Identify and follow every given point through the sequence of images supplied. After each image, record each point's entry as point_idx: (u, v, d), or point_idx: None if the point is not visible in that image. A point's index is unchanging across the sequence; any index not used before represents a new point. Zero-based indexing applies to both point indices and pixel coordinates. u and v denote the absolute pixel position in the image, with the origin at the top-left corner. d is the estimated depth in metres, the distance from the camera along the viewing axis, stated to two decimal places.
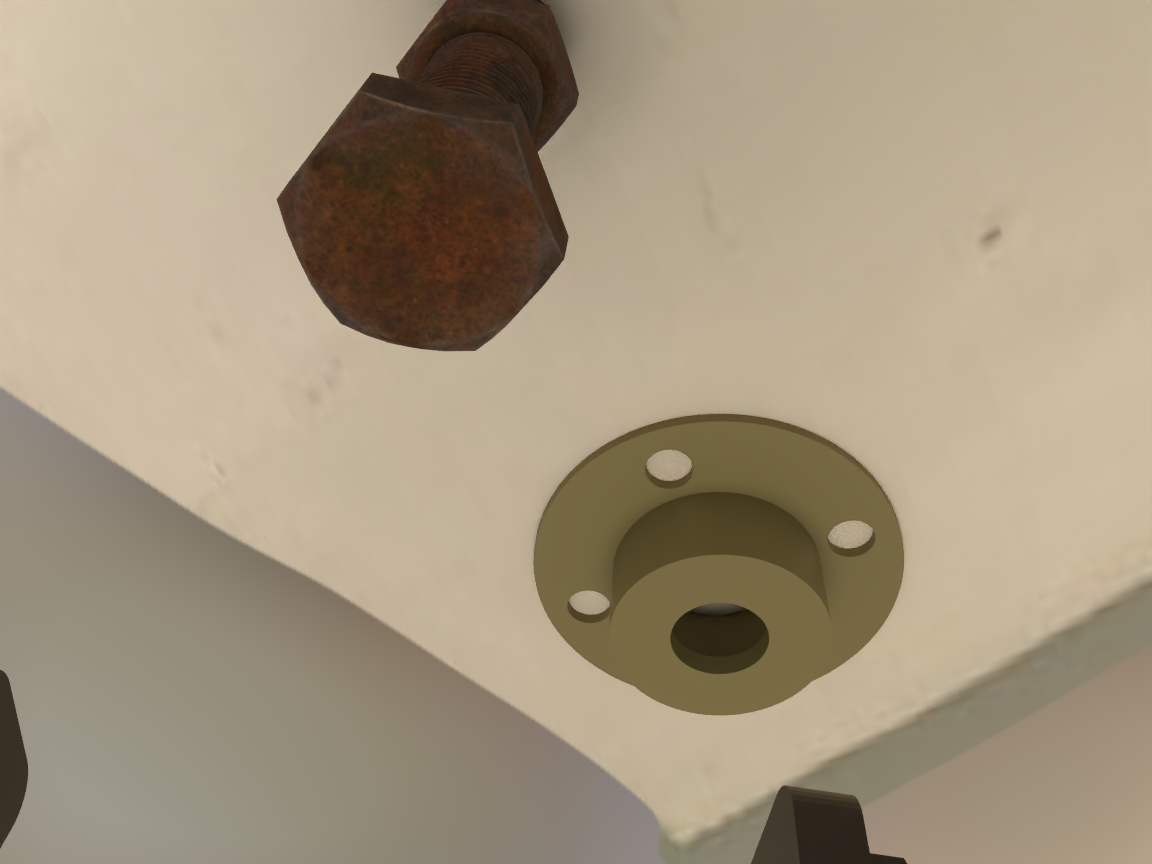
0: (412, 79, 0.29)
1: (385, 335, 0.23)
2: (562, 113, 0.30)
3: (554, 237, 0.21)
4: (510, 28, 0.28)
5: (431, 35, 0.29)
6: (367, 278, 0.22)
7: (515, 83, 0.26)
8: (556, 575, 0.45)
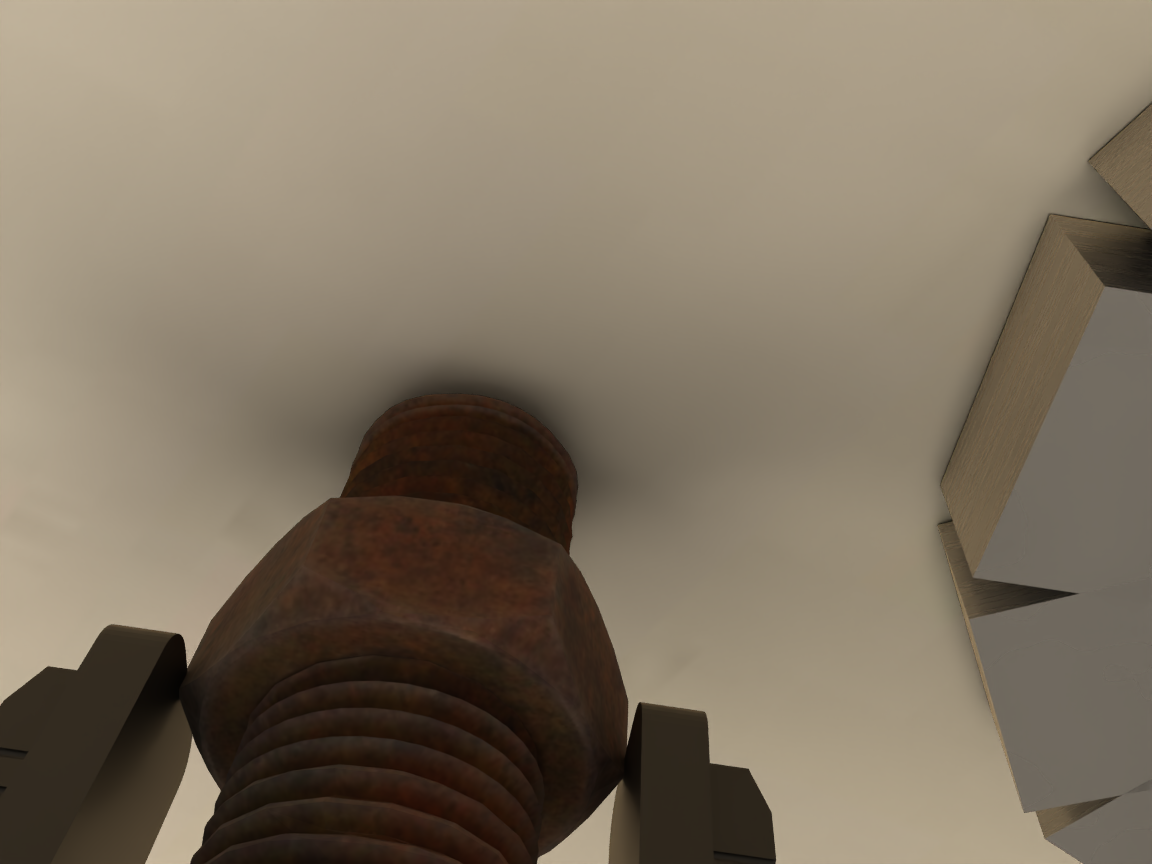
0: (307, 636, 0.11)
1: None
2: None
3: None
4: (565, 762, 0.11)
5: (439, 637, 0.11)
6: None
7: None
8: None
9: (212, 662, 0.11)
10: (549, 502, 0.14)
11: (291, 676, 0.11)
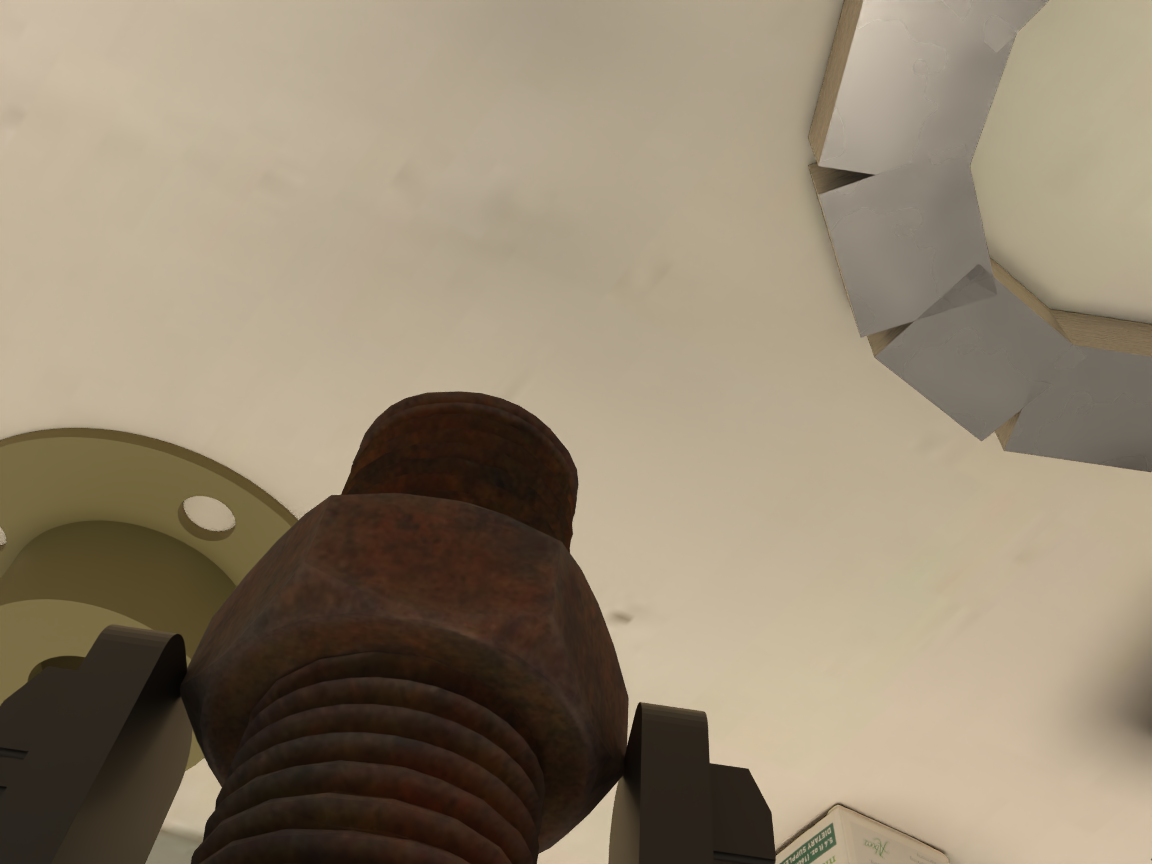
0: (308, 632, 0.11)
1: None
2: None
3: None
4: (565, 758, 0.11)
5: (440, 633, 0.11)
6: None
7: None
8: None
9: (213, 658, 0.11)
10: (550, 498, 0.14)
11: (292, 672, 0.11)
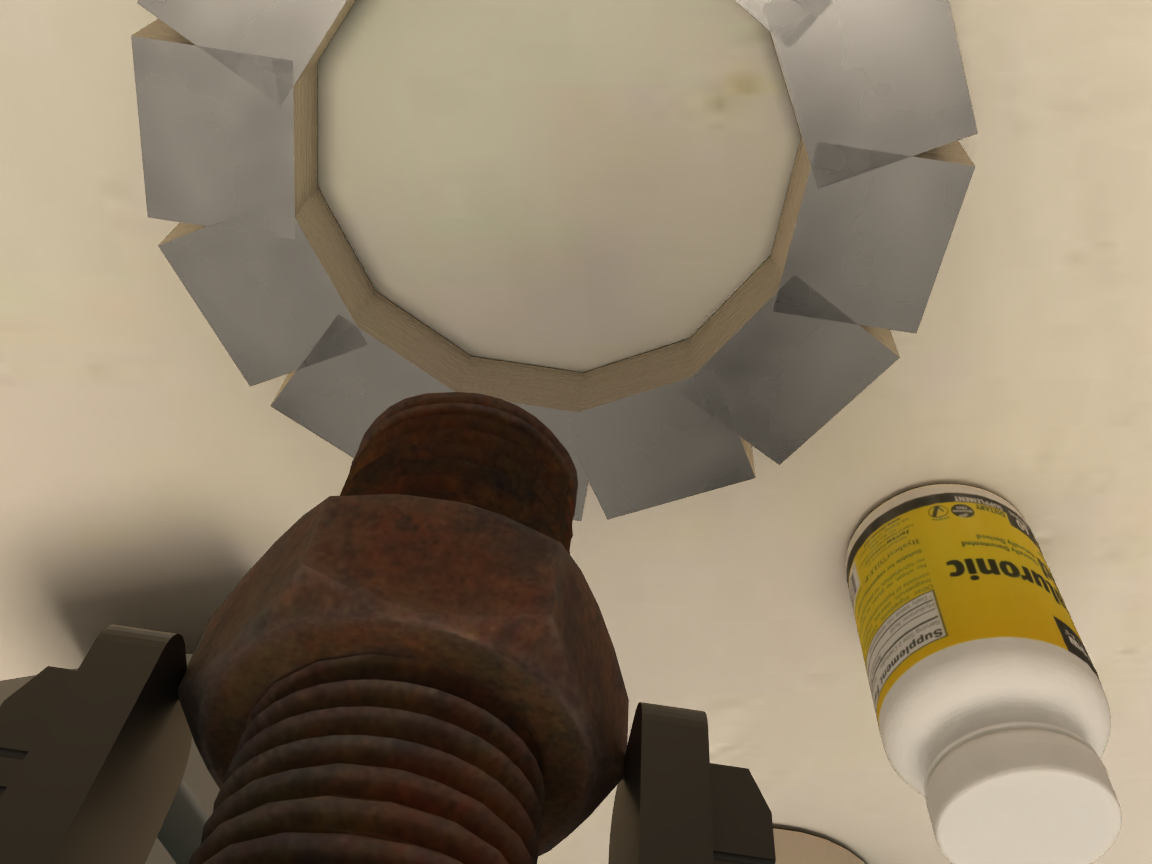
0: (306, 634, 0.11)
1: None
2: None
3: None
4: (565, 761, 0.11)
5: (438, 637, 0.10)
6: None
7: None
8: None
9: (211, 660, 0.11)
10: (549, 500, 0.14)
11: (290, 674, 0.11)
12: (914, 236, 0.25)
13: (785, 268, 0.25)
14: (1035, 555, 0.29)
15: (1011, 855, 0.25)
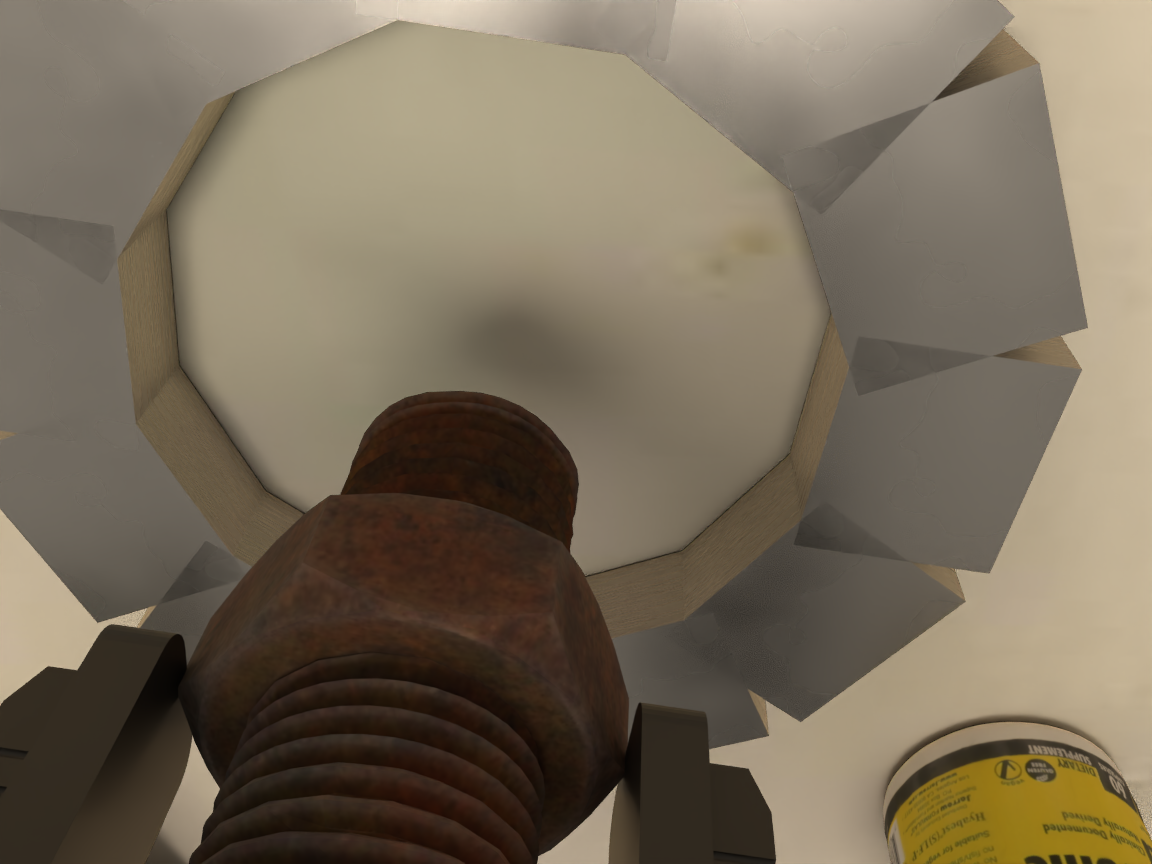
0: (306, 633, 0.11)
1: None
2: None
3: None
4: (566, 760, 0.11)
5: (438, 635, 0.10)
6: None
7: None
8: None
9: (211, 659, 0.11)
10: (550, 499, 0.14)
11: (291, 674, 0.11)
12: (992, 456, 0.18)
13: (811, 492, 0.18)
14: (1139, 836, 0.22)
15: None
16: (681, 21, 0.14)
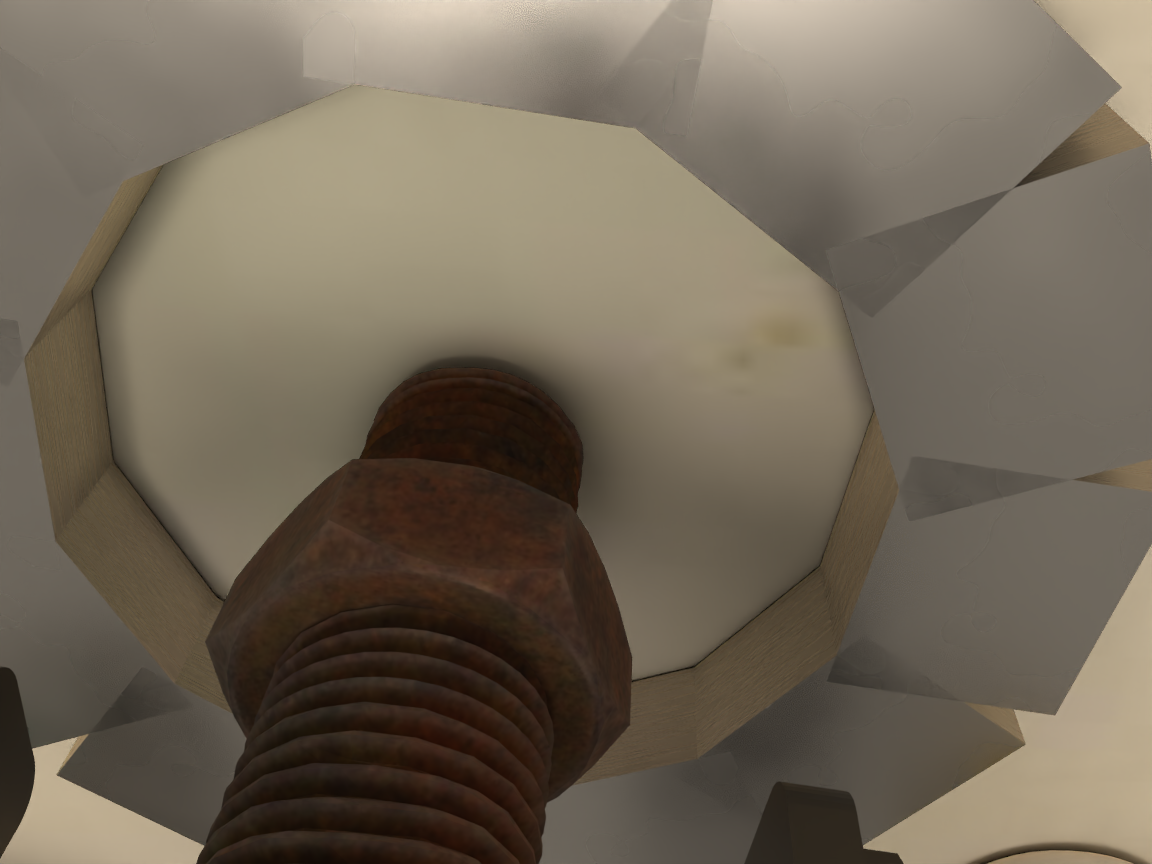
0: (332, 586, 0.11)
1: None
2: None
3: None
4: (573, 709, 0.12)
5: (456, 588, 0.11)
6: None
7: None
8: None
9: (240, 613, 0.12)
10: (557, 469, 0.15)
11: (316, 625, 0.12)
12: (1065, 589, 0.15)
13: (848, 626, 0.16)
14: None
15: None
16: (706, 88, 0.12)
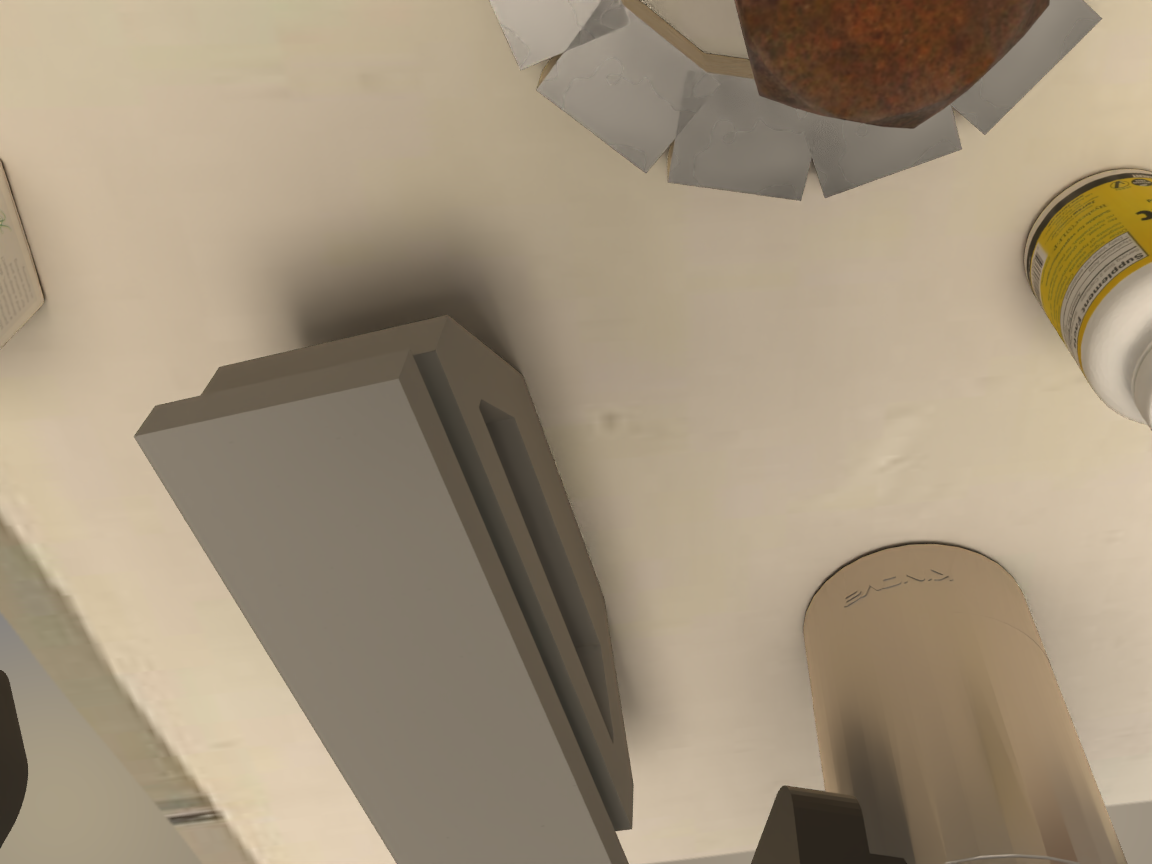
0: None
1: None
2: None
3: (940, 109, 0.20)
4: None
5: None
6: None
7: None
8: None
9: None
10: None
11: None
12: None
13: None
14: None
15: None
16: None
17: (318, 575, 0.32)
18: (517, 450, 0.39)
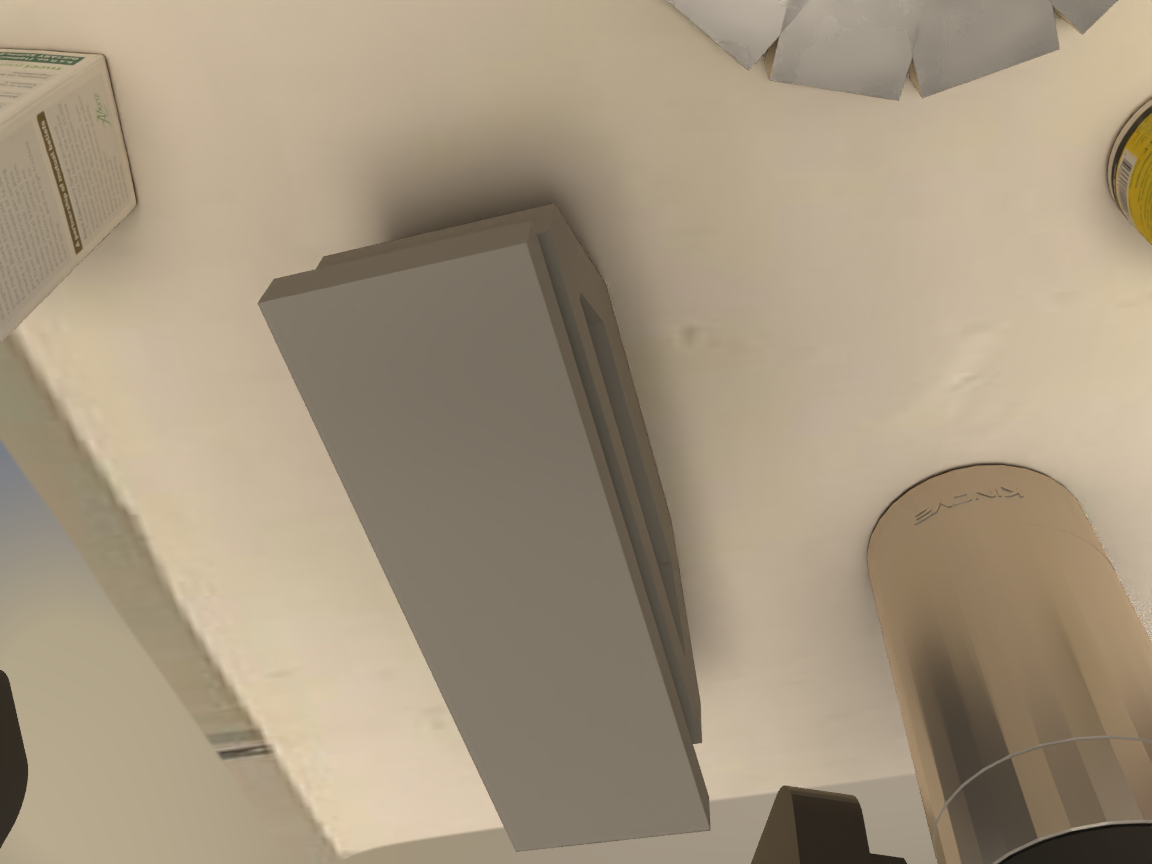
0: None
1: None
2: None
3: None
4: None
5: None
6: None
7: None
8: None
9: None
10: None
11: None
12: None
13: None
14: None
15: None
16: None
17: (427, 453, 0.33)
18: (603, 356, 0.40)
